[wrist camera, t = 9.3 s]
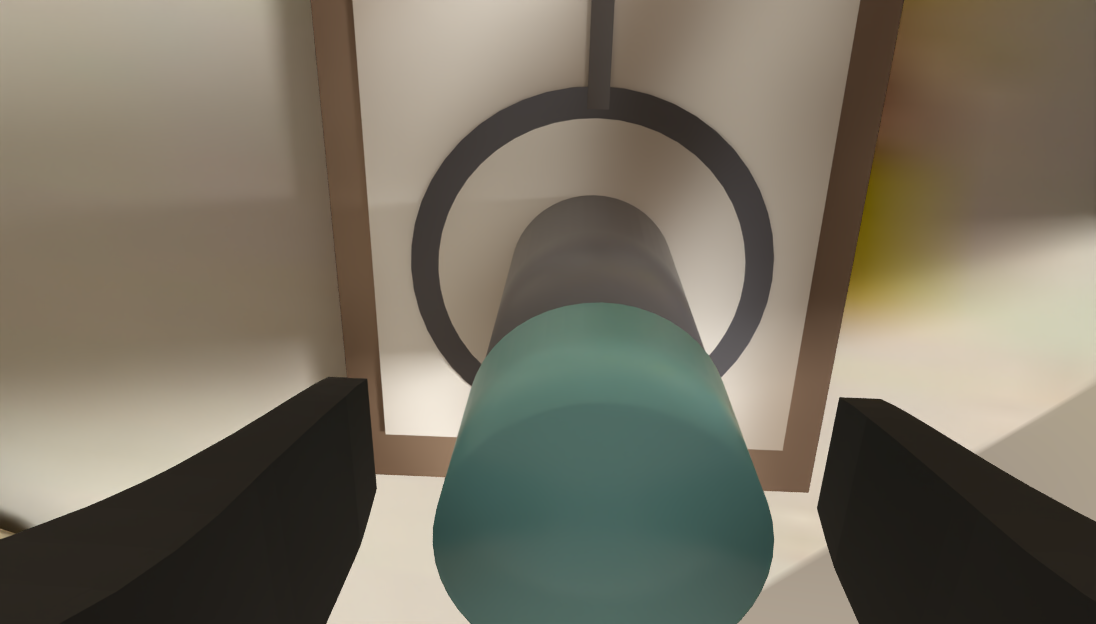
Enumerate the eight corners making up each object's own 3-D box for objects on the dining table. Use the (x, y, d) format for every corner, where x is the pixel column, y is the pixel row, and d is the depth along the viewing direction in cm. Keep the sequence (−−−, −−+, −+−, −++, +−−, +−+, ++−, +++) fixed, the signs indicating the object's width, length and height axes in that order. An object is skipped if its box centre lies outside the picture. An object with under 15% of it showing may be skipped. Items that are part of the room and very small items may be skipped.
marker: (683, 192, 17) (796, 408, 8) (670, 352, 19) (751, 681, 10) (506, 189, 18) (423, 398, 8) (508, 348, 19) (440, 668, 10)
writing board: (956, -397, 14) (997, -441, 13) (797, 467, 22) (812, 500, 21) (292, -401, 15) (260, -445, 13) (367, 450, 23) (353, 480, 21)
